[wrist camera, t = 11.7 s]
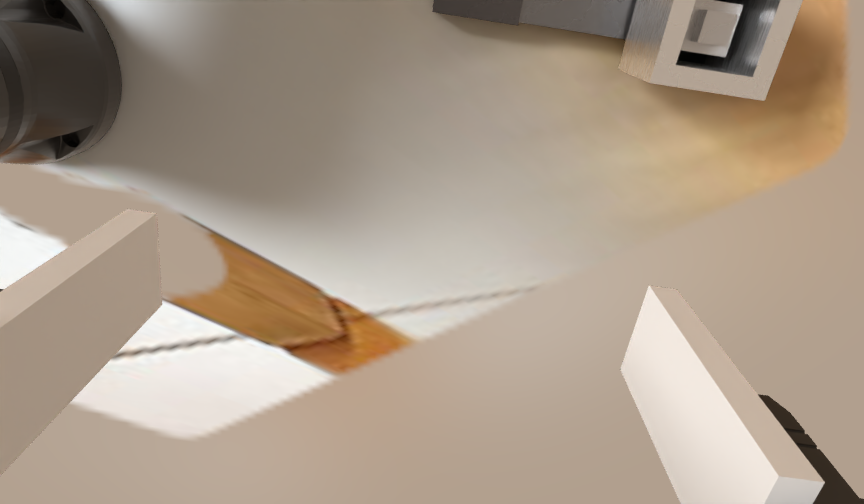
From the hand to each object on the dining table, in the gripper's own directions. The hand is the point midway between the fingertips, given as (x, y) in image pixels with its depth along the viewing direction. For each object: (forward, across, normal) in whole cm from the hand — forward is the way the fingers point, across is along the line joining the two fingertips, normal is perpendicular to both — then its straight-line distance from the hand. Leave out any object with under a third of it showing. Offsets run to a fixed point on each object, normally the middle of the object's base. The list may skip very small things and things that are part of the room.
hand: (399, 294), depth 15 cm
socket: (+29, +16, +8) cm, 34 cm away
